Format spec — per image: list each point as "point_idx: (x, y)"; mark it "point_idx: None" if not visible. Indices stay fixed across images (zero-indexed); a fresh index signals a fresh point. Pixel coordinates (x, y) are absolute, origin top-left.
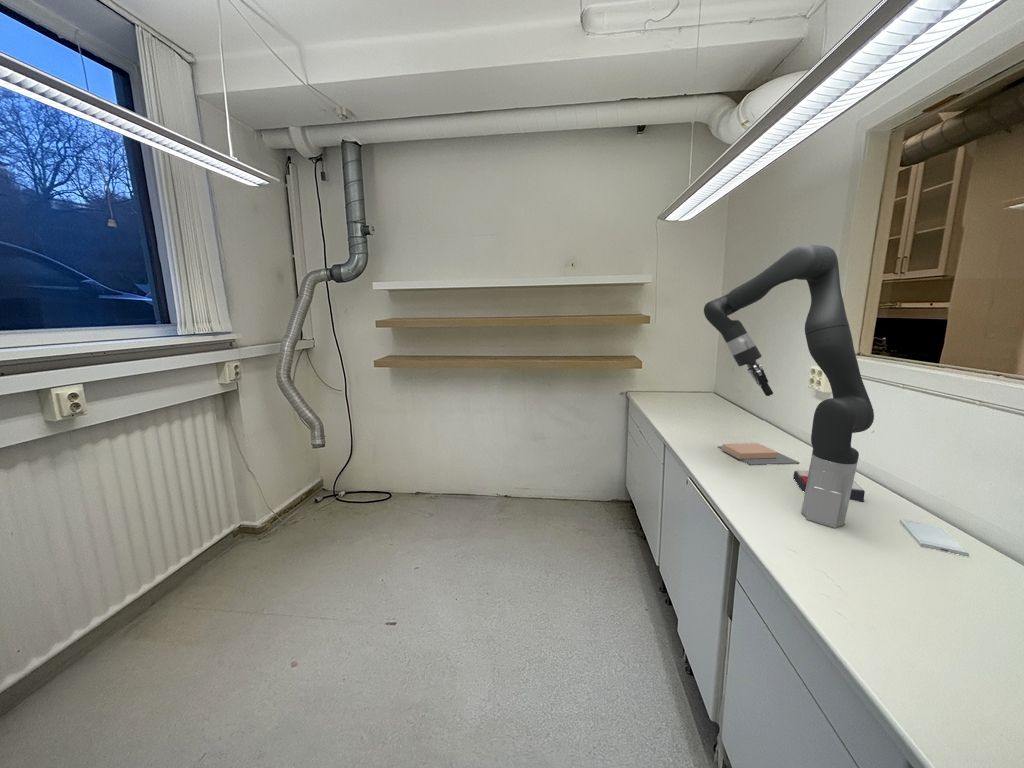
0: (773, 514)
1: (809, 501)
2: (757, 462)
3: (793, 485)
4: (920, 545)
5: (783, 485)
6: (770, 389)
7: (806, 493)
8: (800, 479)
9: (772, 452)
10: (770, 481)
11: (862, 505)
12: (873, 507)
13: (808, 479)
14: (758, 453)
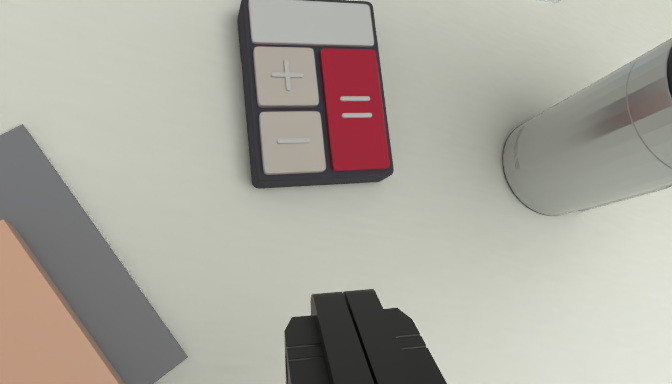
0: (605, 291)
1: (625, 199)
2: (140, 321)
3: (339, 201)
4: (558, 1)
5: (361, 236)
6: (390, 330)
7: (613, 200)
8: (350, 176)
9: (20, 244)
10: (347, 278)
11: (390, 34)
12: (387, 10)
13: (651, 189)
14: (73, 318)
